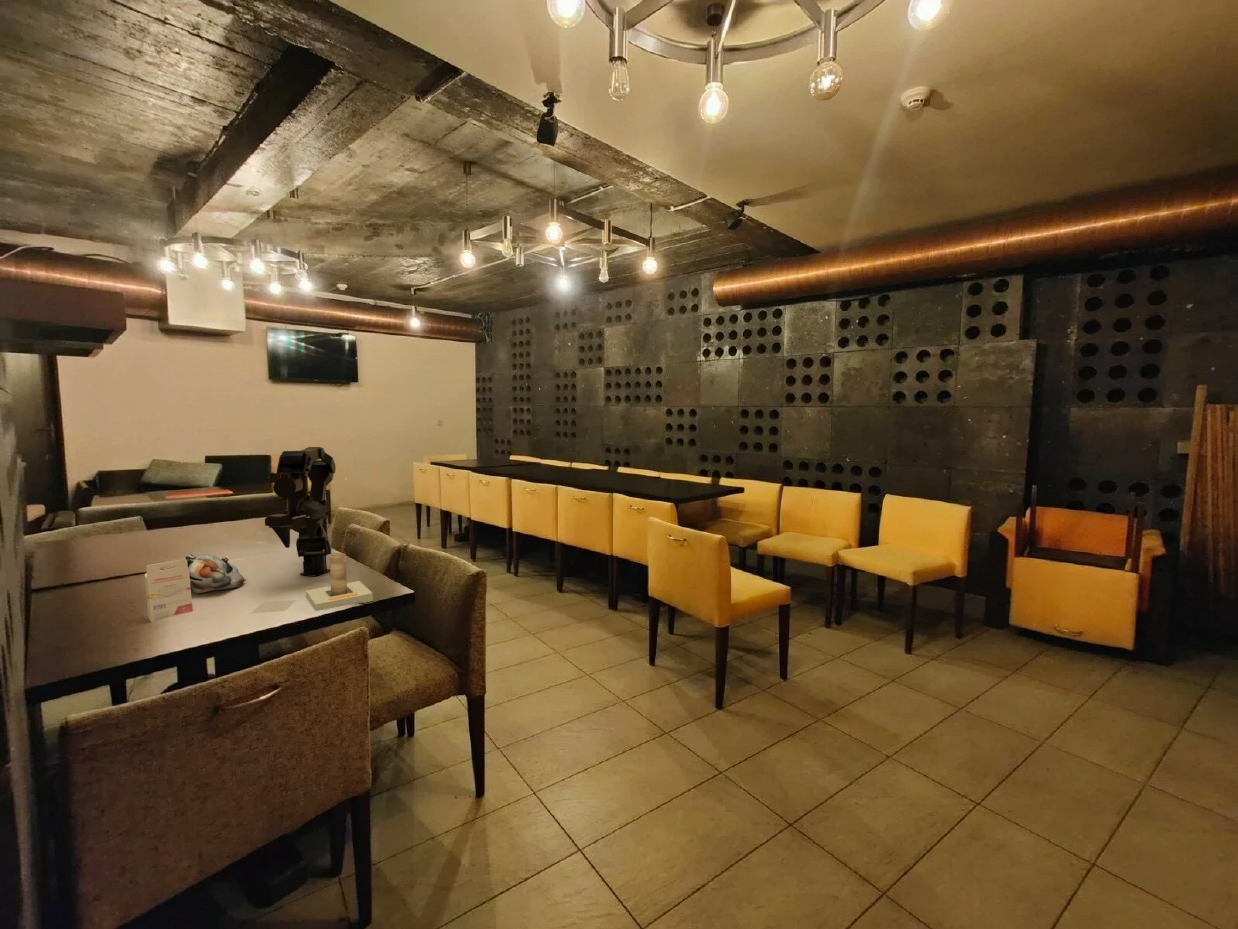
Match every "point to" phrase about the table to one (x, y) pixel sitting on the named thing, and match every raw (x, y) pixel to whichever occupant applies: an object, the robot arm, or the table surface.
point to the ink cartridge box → (168, 590)
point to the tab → (274, 606)
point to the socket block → (338, 596)
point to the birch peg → (338, 574)
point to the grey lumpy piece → (212, 573)
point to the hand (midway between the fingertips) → (300, 544)
